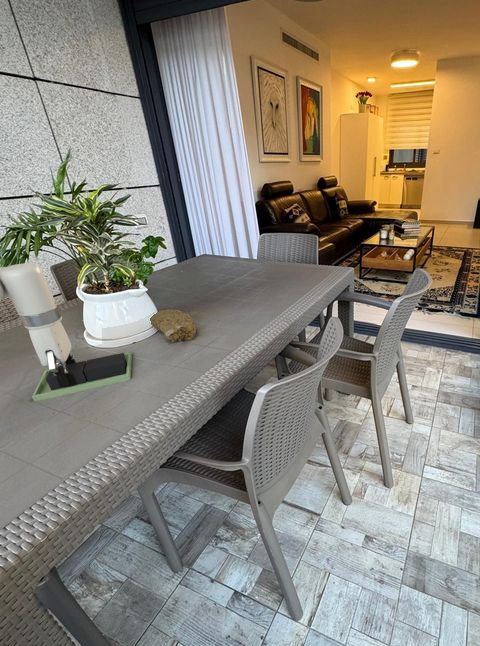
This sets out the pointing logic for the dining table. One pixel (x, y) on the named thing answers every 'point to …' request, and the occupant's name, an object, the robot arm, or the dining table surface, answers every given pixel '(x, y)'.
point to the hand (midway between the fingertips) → (70, 378)
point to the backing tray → (46, 393)
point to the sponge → (174, 324)
